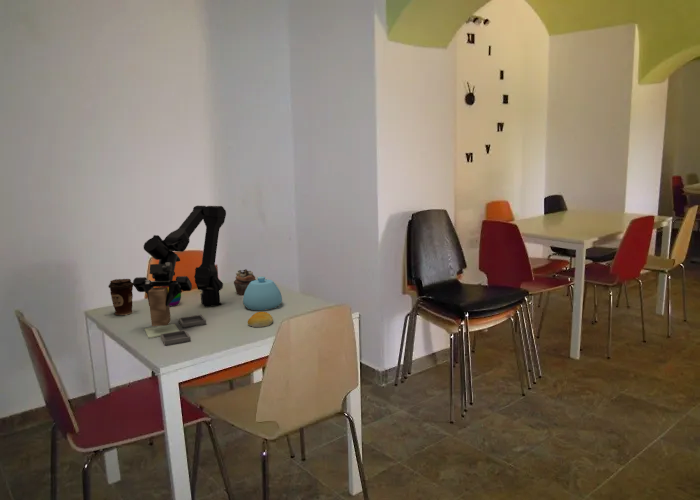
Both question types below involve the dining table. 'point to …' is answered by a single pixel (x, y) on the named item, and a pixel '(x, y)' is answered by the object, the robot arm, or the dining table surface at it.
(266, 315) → the bread roll
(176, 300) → the decorative egg
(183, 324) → the tray
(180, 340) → the tray
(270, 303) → the sugar bowl
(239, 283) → the cupcake
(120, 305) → the coffee cup
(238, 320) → the dining table surface
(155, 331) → the pad
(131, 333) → the dining table surface
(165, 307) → the walnut block
